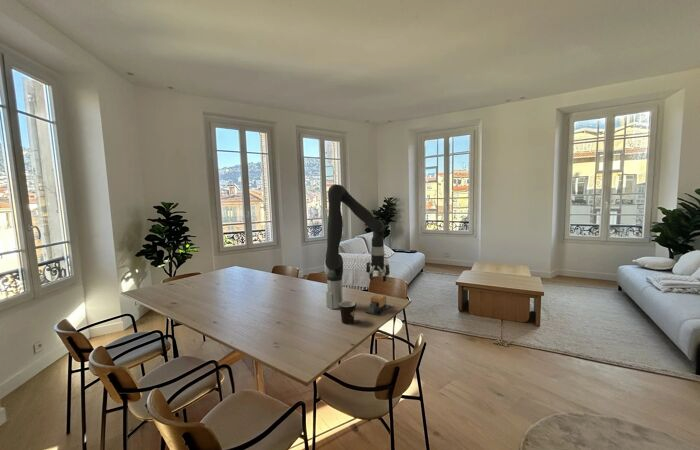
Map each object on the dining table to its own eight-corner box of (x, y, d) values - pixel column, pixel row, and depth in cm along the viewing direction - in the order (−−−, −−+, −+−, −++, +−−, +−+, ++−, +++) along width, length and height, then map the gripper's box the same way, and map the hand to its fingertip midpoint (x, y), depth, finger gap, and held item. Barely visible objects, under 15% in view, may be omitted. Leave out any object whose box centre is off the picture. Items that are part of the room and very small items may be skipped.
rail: (379, 315, 173) (378, 305, 173) (365, 312, 178) (365, 302, 177) (390, 306, 187) (390, 297, 186) (377, 304, 191) (377, 295, 191)
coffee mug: (344, 326, 160) (343, 307, 159) (337, 320, 168) (336, 303, 167) (363, 321, 165) (363, 303, 164) (355, 316, 173) (355, 299, 172)
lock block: (376, 302, 187) (376, 294, 186) (385, 303, 183) (385, 295, 183) (370, 305, 181) (370, 297, 180) (380, 307, 178) (380, 299, 177)
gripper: (364, 253, 180) (364, 280, 181) (385, 256, 172) (386, 284, 174) (370, 251, 186) (370, 277, 188) (391, 253, 179) (391, 280, 180)
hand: (377, 280), depth 181 cm, fingers open, 8 cm apart
